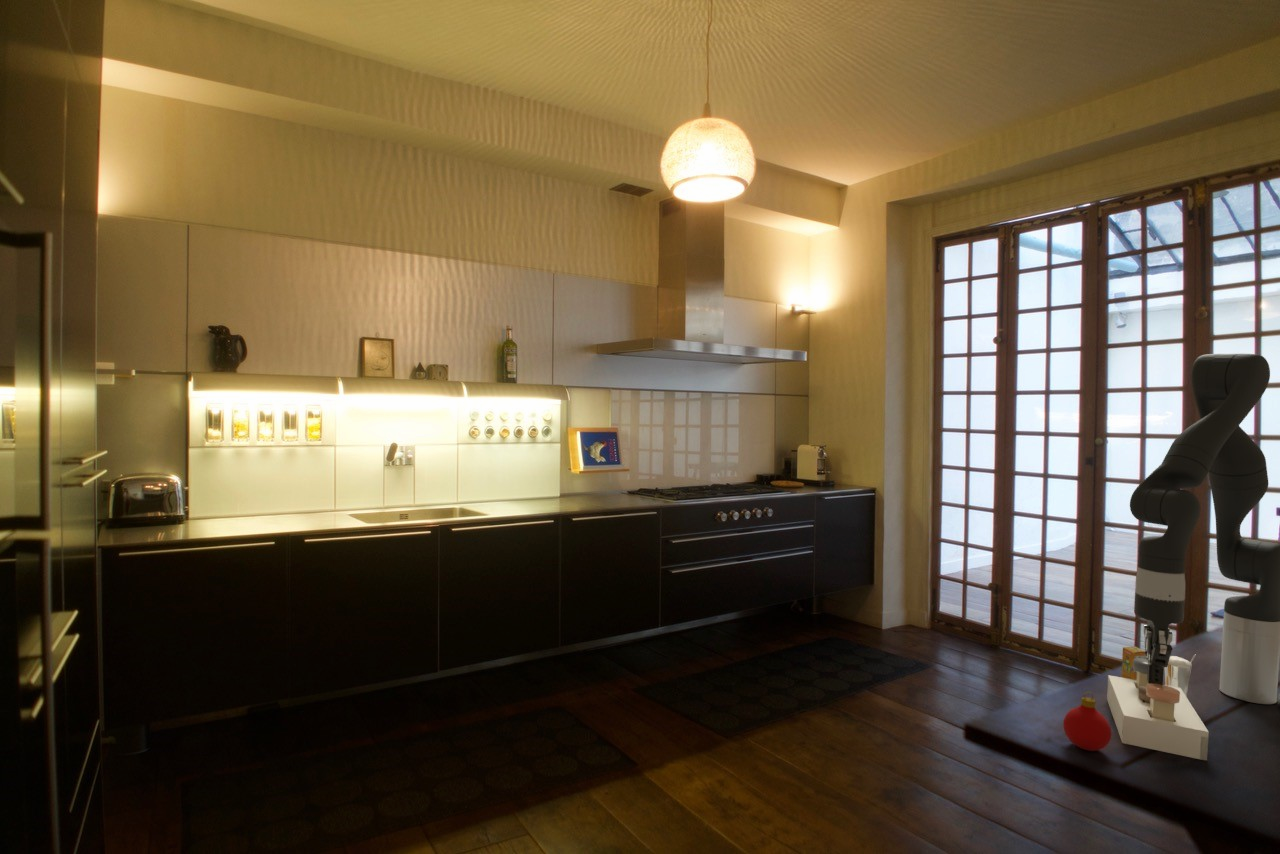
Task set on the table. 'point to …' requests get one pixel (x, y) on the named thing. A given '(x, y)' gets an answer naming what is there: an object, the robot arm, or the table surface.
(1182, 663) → the milkshake
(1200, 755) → the knob console
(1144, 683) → the charcoal knob
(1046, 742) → the table surface
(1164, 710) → the terracotta knob
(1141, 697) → the walnut knob
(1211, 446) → the robot arm
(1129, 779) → the table surface
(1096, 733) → the christmas ornament
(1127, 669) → the supplement box
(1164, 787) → the table surface
